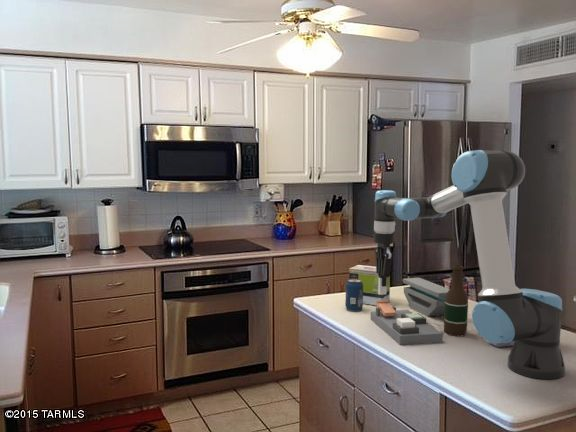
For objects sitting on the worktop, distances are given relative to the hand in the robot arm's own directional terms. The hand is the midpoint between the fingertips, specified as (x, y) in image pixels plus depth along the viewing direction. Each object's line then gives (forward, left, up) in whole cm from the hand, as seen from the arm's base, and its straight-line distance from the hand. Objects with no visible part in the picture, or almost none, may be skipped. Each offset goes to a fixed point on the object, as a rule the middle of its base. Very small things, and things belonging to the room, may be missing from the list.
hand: (382, 293), depth 200 cm
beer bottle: (-19, -20, -10) cm, 29 cm away
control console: (-13, -4, -10) cm, 17 cm away
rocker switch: (-4, 0, -5) cm, 6 cm away
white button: (-22, 0, -5) cm, 22 cm away
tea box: (+25, -4, -10) cm, 28 cm away
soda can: (+15, +6, -10) cm, 19 cm away
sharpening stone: (+7, -22, -10) cm, 25 cm away
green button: (-13, -7, -7) cm, 16 cm away
